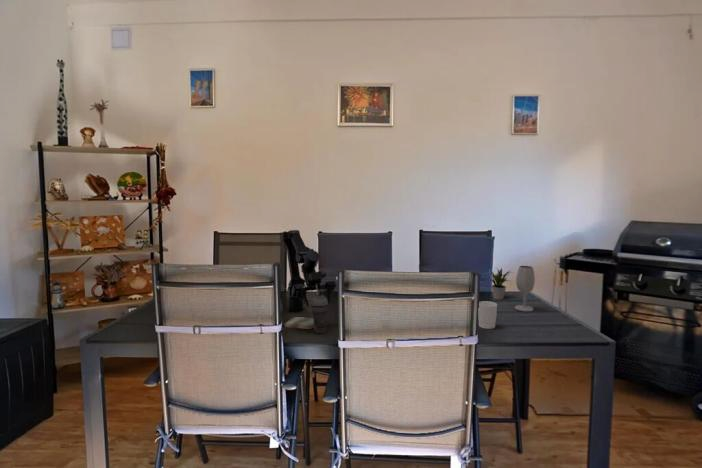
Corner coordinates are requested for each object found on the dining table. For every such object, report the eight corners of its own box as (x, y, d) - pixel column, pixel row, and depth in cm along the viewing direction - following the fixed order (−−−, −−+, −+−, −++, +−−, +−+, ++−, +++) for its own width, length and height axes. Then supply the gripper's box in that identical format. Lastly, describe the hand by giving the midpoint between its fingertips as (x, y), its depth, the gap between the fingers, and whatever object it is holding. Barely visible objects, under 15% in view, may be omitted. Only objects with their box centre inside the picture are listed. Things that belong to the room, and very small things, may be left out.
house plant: (518, 302, 227) (519, 270, 225) (491, 302, 227) (492, 270, 225) (508, 294, 241) (509, 265, 239) (483, 295, 241) (484, 265, 239)
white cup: (486, 330, 185) (487, 307, 184) (473, 325, 192) (474, 302, 191) (500, 327, 189) (501, 304, 188) (487, 322, 196) (487, 300, 195)
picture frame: (285, 326, 192) (284, 323, 192) (294, 319, 201) (294, 316, 201) (311, 329, 189) (311, 325, 188) (319, 321, 198) (319, 318, 198)
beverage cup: (326, 334, 182) (325, 287, 179) (309, 333, 183) (308, 286, 181) (330, 328, 189) (329, 282, 186) (314, 327, 190) (313, 282, 188)
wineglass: (514, 311, 212) (515, 267, 209) (514, 306, 220) (516, 264, 217) (533, 313, 209) (535, 269, 206) (533, 307, 217) (535, 265, 214)
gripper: (292, 265, 185) (301, 297, 176) (334, 262, 192) (344, 292, 183) (288, 280, 193) (295, 312, 184) (328, 276, 200) (337, 306, 191)
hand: (318, 305), depth 185 cm, fingers open, 9 cm apart
